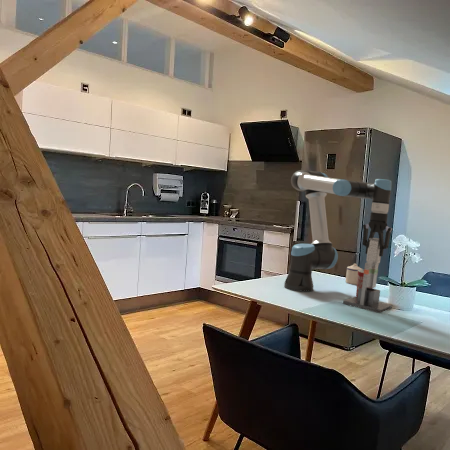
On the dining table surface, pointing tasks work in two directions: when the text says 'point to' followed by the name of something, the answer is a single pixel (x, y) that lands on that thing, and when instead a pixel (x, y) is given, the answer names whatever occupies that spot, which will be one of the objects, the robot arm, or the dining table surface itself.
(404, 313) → the dining table surface
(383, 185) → the robot arm
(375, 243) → the column
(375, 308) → the stand
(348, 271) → the teacup with lid
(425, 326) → the dining table surface
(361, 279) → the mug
